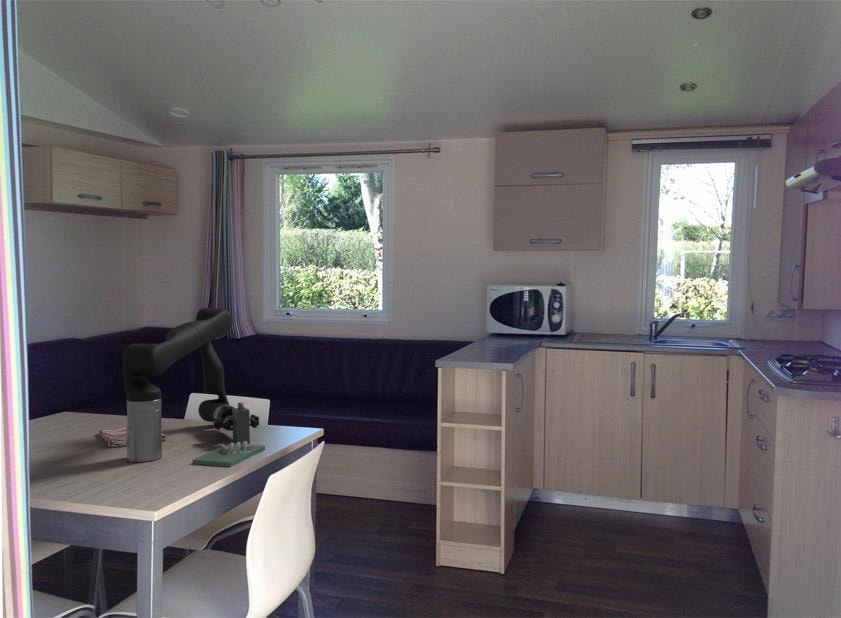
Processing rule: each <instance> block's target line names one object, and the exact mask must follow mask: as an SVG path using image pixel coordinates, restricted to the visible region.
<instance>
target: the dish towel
mask: <svg viewBox="0 0 841 618" xmlns="http://www.w3.org/2000/svg"><path fill="white" fill-rule="evenodd" d="M98 434H99V436H100V437H101V438H102V439H103V440H104V441H105V442H106V444H107V443H108V444H107V446H109V445H110V446H109V448H110V447H111V448H119V446H120V447H127V438H126V427H123V428H118V429H111V430H110V429H100V430H98ZM166 441H167V436H166V435H165V434H164V433H162V442H166Z"/></svg>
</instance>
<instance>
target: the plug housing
mask: <svg viewBox="0 0 841 618" xmlns="http://www.w3.org/2000/svg"><path fill="white" fill-rule="evenodd" d="M232 413H233V431H232V443H234V444H237V442H240V444H242V442H244V441H247V443H248V444H250V445H251V440H250V439H251V438H250V434H251V433H250V432H251V431H250V429H251V428H250V427H251V426H250V419H249V417H250V409H249V408H247V407H245V402H243V401H241V402H237V407H234V408H233V409H232Z"/></svg>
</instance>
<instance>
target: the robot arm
mask: <svg viewBox="0 0 841 618" xmlns="http://www.w3.org/2000/svg"><path fill="white" fill-rule="evenodd" d="M233 321H234V320H233V316H232V314H231V313H230V311H228V310H227V309H225V308H217V307H216V308H212V307H203V308H202V307H201V308H200V309H199V310H198V312H197V313H196V317H195V320H193V321H187V322H183V323H181V324H179V325H178V326H175V327H173V328H171V329H170V330H169V331H168V333H166V336H165V341H164V342H159V343H131V344H129V345H127V347H126V348H125V349H124V352H123V356H122V368H123V369H122V371H123V373H122V374H123V383H124V386H123V387H124V391H125V394H126V412H127V413H126V414H127V415H126V416H127V417H126V419H127V421H126V423H127V424H126V427H125V428H126V438H127V446H126V459H127V461H128V462H129V463H133V462H135V463H142V462H150V461H151V462H152V461H156V460H159V459H161V458H162V457H163V441H162V434H163V429H162V427H163V426H162V389H161V388H160V387H158V386H156V385H154V384H152V383H150V382H149V381H148V379H147V378H146V377H153V376H154V377H155V376H158V375H160V374H162V373H164V372H165V371H166V370H167V369H168V368H169V367H171V366H173V364H175V362H177V361H179V360H180V359H182V358H183V357H185V356H187V355H189V354H191V353H193V352H194V351H196V350H197V349H198V348H199V351H200V352H199V353H200V357H201V362H202V363H201V364H202V371H203V372H202V375H203V377H202V379H203V392H204V393H205V394H208V395H213V396H214V395H215V396H217V397H218V398H213V399H206V400H203V401H202V402H200V404H199V406H198V415H199V417H200V418H201V419H202V420H203V421H205V422H208V423H209V422H210V423H212V428H213V429H215V430H218V431H220V430H221V429H222V430H223V431H224V430H225V431H228V432H233V413H232V409H233V408H235V406H232V405H230V402H229V400H228V397H227V393H226V388H225V370H224V366H223V365H224V364H223V363H222V361H221V360H220V358H219V356H218V354H217V353H216V351H215V349H214V347H213V346H214V345H213V344H212V341H213V340H215V339H217V338H221V337H223V336H225V335H227V333H229V332H230V330H231V328H232V325H233ZM249 419H250V427H251V428H253V429H257V427H258V426H260V417H259V416H258V415H255V414H250V415H249Z"/></svg>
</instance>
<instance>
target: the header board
mask: <svg viewBox="0 0 841 618" xmlns="http://www.w3.org/2000/svg"><path fill="white" fill-rule="evenodd" d="M219 446H220V447H218V448H216V449H214V450H212V451H211V450H210V452H206V453H205V454H202V455H200V456H198V457H195V458H193V459H192V462H191V463H192V464H194V465H201V464H206V465H205V466H216V467H229V468H231V467H233V466H235V465H237V464H240V463H241V462H244V461H245V459H246V460H247V458H248V459H250V458H252V457H253V455H254V456H255V454H256V455H258V454H260V453H262V452H264V451H265V450H266V445H260V444H259V445H257V444H250V445H249V444H248V443H247V441H244V442H242V444H240V442H237V444H233V442H230V443H227V444H223V443H222V444H220V445H219ZM257 453H258V454H257ZM251 456H252V457H251ZM249 457H250V458H249Z"/></svg>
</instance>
